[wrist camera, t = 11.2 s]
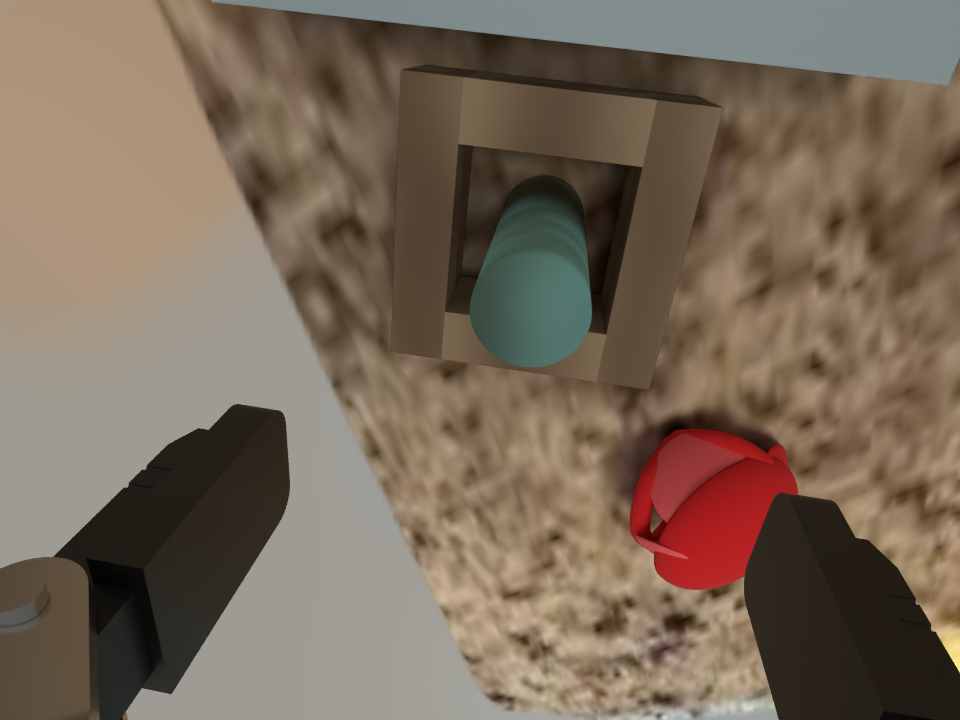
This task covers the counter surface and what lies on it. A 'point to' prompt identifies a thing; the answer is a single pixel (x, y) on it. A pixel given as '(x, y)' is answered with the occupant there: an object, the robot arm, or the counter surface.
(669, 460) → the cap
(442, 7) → the wall
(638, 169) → the holed block
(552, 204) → the dowel
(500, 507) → the counter surface
